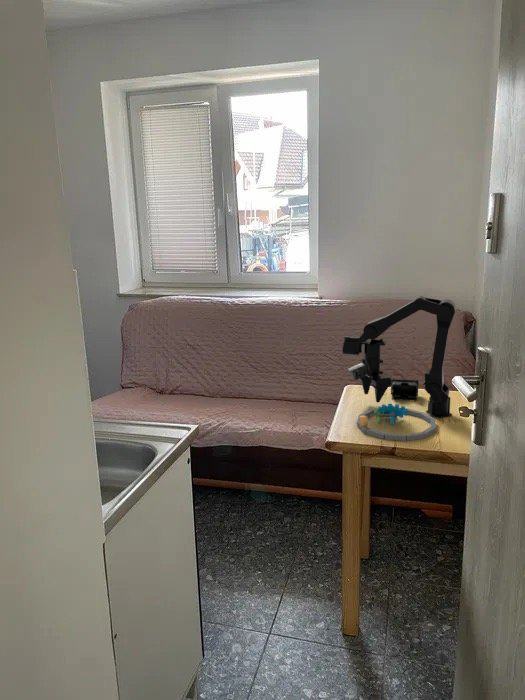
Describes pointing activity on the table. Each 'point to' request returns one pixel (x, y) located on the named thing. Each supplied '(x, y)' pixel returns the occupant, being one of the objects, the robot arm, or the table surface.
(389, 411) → the blue spiky figure
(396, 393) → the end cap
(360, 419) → the ring
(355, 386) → the table surface
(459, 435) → the table surface
